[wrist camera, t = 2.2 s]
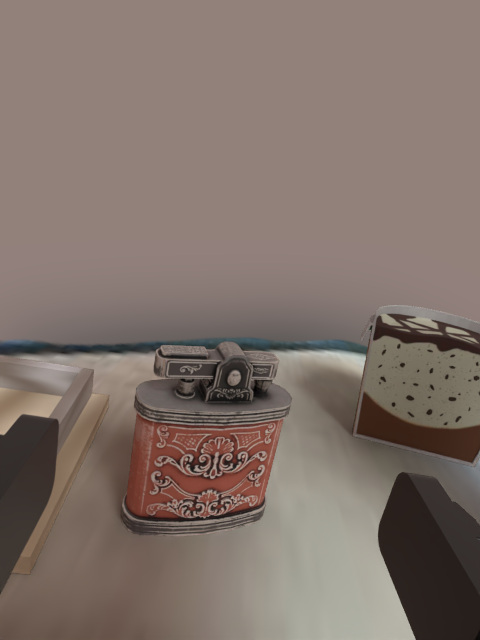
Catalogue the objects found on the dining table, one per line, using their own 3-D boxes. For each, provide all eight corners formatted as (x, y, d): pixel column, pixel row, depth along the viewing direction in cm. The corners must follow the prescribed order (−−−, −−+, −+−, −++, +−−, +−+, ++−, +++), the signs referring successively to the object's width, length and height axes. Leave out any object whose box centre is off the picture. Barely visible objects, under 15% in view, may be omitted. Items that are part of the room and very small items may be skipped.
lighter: (252, 484, 28) (287, 337, 25) (272, 527, 25) (315, 365, 22) (118, 494, 25) (137, 329, 22) (123, 543, 22) (146, 361, 19)
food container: (469, 429, 40) (512, 325, 37) (494, 472, 34) (547, 353, 31) (332, 395, 41) (361, 292, 38) (333, 431, 36) (368, 313, 32)
